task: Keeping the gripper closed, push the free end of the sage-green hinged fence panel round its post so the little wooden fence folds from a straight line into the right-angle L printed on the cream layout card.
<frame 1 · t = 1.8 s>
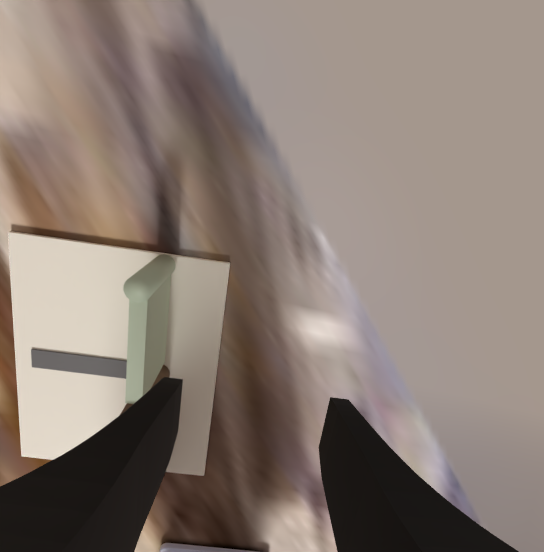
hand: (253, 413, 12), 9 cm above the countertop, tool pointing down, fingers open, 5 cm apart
sage fence panel: (149, 325, 18), point 3 cm above the countertop, hinge at 0.0°
layout card: (119, 365, 22), on the countertop
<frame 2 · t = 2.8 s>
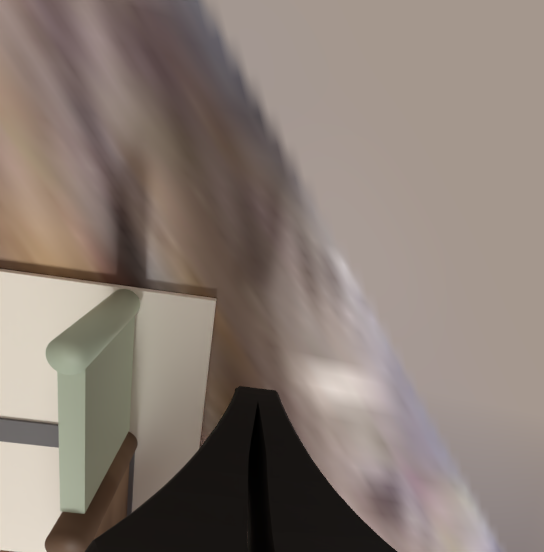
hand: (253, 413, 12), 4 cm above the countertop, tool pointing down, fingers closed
sage fence panel: (99, 393, 13), point 3 cm above the countertop, hinge at 0.0°
layout card: (70, 431, 16), on the countertop
walnut fence section: (124, 437, 16), resting on layout card
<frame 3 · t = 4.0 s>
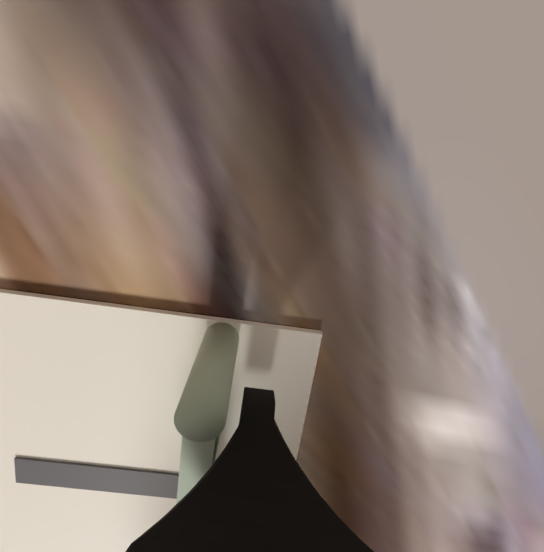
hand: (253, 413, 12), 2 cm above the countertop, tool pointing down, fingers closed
sage fence panel: (204, 447, 11), point 3 cm above the countertop, hinge at 0.1°, touching gripper
layout card: (145, 475, 15), on the countertop
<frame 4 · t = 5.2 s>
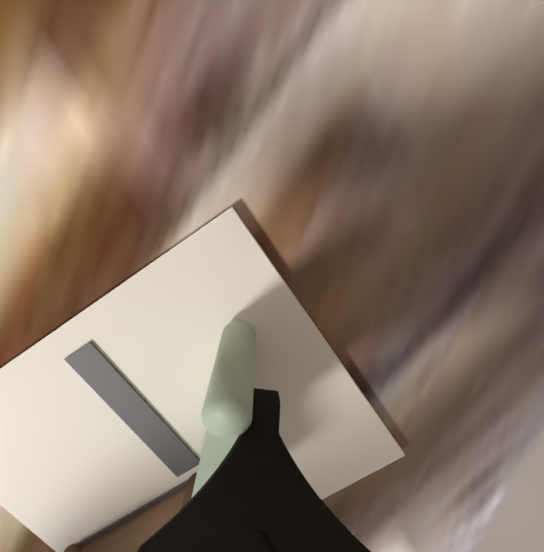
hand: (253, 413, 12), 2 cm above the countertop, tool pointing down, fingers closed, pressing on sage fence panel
sage fence panel: (216, 443, 11), point 3 cm above the countertop, hinge at 42.8°, touching gripper
layout card: (168, 437, 14), on the countertop
walnut fence section: (205, 478, 15), resting on layout card
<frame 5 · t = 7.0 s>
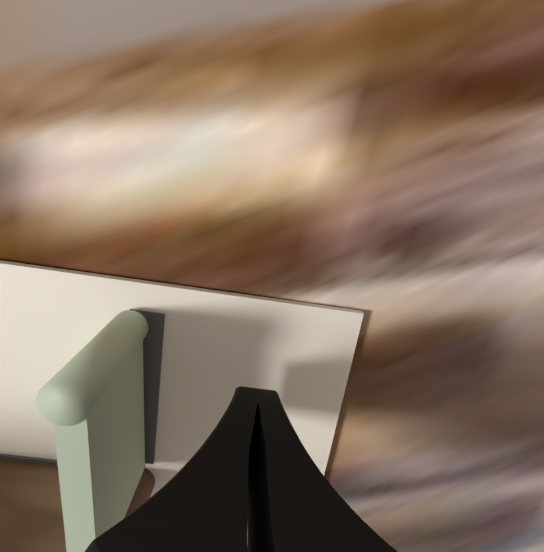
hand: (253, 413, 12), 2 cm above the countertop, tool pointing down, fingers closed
sage fence panel: (107, 435, 11), point 3 cm above the countertop, hinge at 93.7°
layout card: (143, 424, 14), on the countertop
walnut fence section: (140, 474, 15), resting on layout card
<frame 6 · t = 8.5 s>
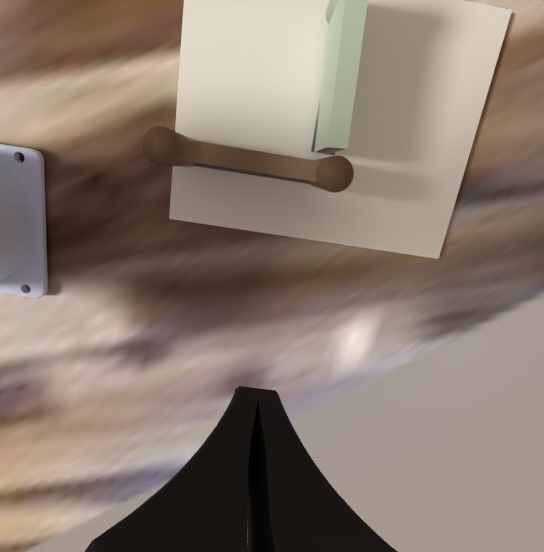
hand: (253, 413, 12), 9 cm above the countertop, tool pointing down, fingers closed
sage fence panel: (339, 67, 15), point 3 cm above the countertop, hinge at 93.7°
layout card: (327, 122, 18), on the countertop
walnut fence section: (318, 173, 19), resting on layout card
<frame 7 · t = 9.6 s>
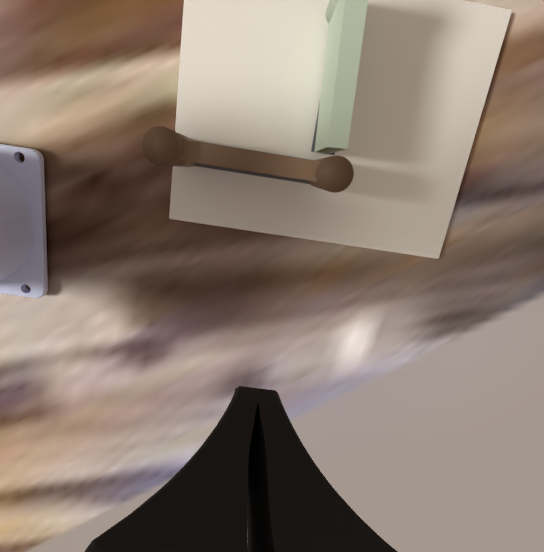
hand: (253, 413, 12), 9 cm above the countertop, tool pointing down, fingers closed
sage fence panel: (339, 67, 15), point 3 cm above the countertop, hinge at 93.7°
layout card: (327, 122, 18), on the countertop
walnut fence section: (318, 173, 19), resting on layout card
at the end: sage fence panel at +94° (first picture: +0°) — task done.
